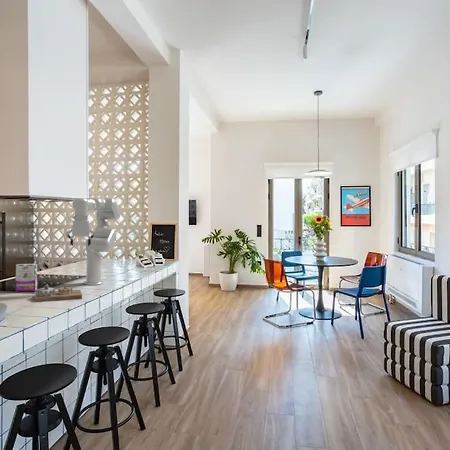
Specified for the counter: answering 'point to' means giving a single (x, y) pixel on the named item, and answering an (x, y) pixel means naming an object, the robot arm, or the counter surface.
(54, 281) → the counter surface
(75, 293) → the gear board
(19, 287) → the candy bar box
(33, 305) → the counter surface
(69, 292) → the wooden gear
